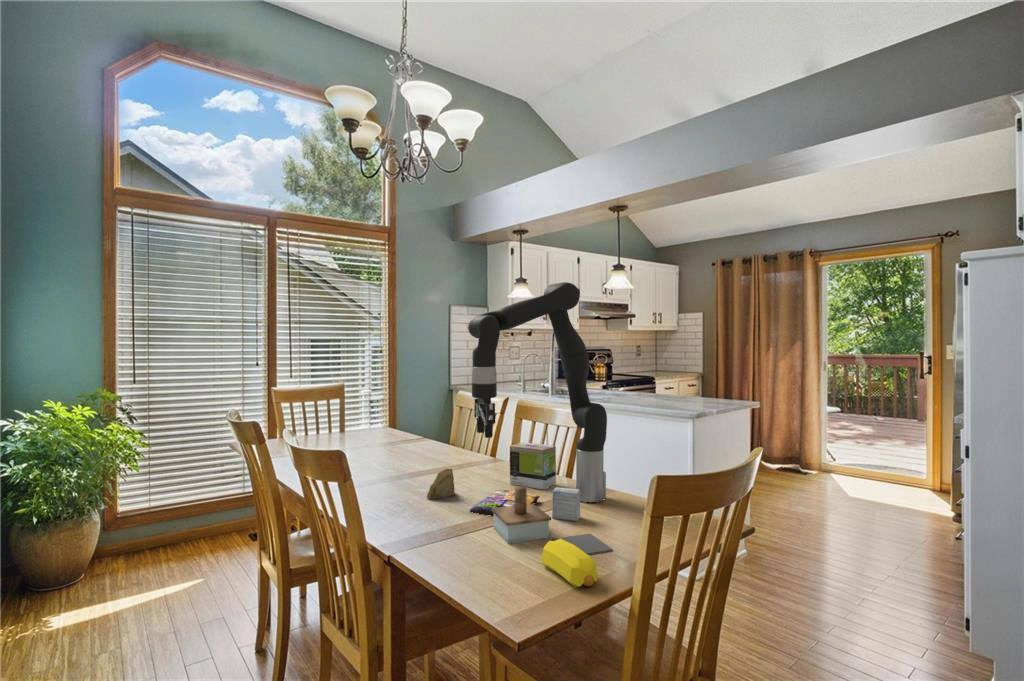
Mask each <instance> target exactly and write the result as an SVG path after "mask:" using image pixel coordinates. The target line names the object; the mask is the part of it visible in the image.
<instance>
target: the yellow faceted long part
mask: <svg viewBox="0 0 1024 681" xmlns="http://www.w3.org/2000/svg"><path fill="white" fill-rule="evenodd" d="M540 562H541V563H542V564H543V565H544V566H545V567H547V568H548V569H550V570H551V571H553V572H555V573H557V574H559V575H560V576H561V577H562V578H563V579H564V580H566V581H567V582H568V583H569V584H571V585H572V586H573V587H574V588H579V587H580V588H581V586H583V585H584V586H585V587H592V586H593V585H594V584H596V583H597V582H598V581H597V580H598V570H597V563H596V562H597V561H595V560H594V559H593V558H592V557H591V556H590V555H587V554H586V553H585V552H583V551H582V550H580V549H579V548H578V547H576V546H575V545H573V544H571V543H569V542H567V541H565V540H562V539H558V540H556V541H552V540H549V541H548V542H547V543H546V544H545V545H544V547H543V548H542V554H541V561H540Z"/></svg>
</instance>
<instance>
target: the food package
mask: <svg viewBox="0 0 1024 681" xmlns="http://www.w3.org/2000/svg"><path fill="white" fill-rule="evenodd" d="M538 499H540V495H537V494H534V493H530V492H529V493H528V492H527V504H533V503H535V504H537V503H536V502H537V501H538ZM507 506H515V490H512V489H511V490H509V489H507V490H506V489H505V490H504V489H502V490H501V489H499V490H495V491H494V492H492V493H490V494H489V495H488V496H487V497H485V498H483V499H482V500H481V501H479V502H478V503H477V504H475V505H474V506H473V507H472V508H470V509H469V511H470V512H469V513H471V512H473V513H472V514H474V513H479V514H478V515H481V514H485V515H484V516H486V515H491V516H490V517H493V516H494V513H493V512H492V508H499V507H507Z"/></svg>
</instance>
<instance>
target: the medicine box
mask: <svg viewBox="0 0 1024 681" xmlns="http://www.w3.org/2000/svg"><path fill="white" fill-rule="evenodd" d="M551 497H552V499H551V501H552V503H551V506H552V508H551V509H552V517H551V519H556V520H563V521H564V520H566V521H573V522H578V521H579V518H580V517H581V501H580V490H579V489H576V488H569V487H568V488H567V487H557V486H556V487H554V489H553V490H552V492H551Z"/></svg>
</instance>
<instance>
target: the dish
mask: <svg viewBox="0 0 1024 681" xmlns="http://www.w3.org/2000/svg"><path fill="white" fill-rule="evenodd" d="M549 522H550V520H549V521H542V522H534V523H526V524H519V525H511V526H507V525H506V524H504V523H503V522H502V521H501V520H500V519H499V518H498V517H497V516H496V515H495V514H494V517H493V530H495V532H496V533H497V534H498V535H499V536H500V537H501V538H502V539H503V540H504V541H505V542H506V543H507V544H508V545H509V544H514V543H520V542H530V541H535V540H543V539H549V538H550V537H549V536H550V535H549V533H550V532H549V530H550V526H549V524H550V523H549Z"/></svg>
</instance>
